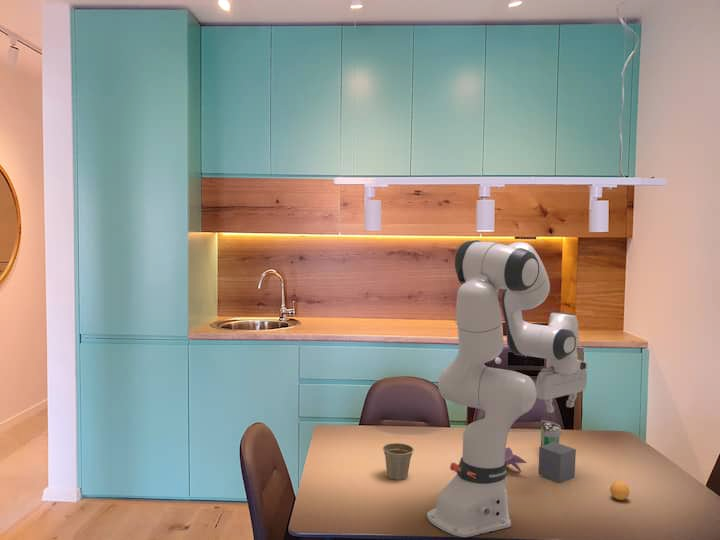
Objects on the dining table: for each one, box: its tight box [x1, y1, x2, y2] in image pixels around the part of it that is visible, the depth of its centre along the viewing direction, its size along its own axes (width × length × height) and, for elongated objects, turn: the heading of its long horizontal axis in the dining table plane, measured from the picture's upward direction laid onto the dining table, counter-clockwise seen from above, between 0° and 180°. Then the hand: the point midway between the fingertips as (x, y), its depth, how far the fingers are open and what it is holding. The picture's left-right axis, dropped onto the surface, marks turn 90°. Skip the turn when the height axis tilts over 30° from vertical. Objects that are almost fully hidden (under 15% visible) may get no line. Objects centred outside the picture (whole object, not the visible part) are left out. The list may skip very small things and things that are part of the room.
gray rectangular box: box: [537, 442, 577, 484], centre depth 185 cm, size 8×8×9 cm
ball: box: [609, 480, 630, 501], centre depth 169 cm, size 5×5×5 cm
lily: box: [505, 447, 528, 473], centre depth 187 cm, size 12×12×10 cm
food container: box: [540, 419, 563, 446], centre depth 203 cm, size 12×6×10 cm, turn 168°
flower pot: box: [382, 442, 415, 481], centre depth 182 cm, size 9×9×9 cm
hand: (560, 409), depth 183 cm, fingers open, 8 cm apart
